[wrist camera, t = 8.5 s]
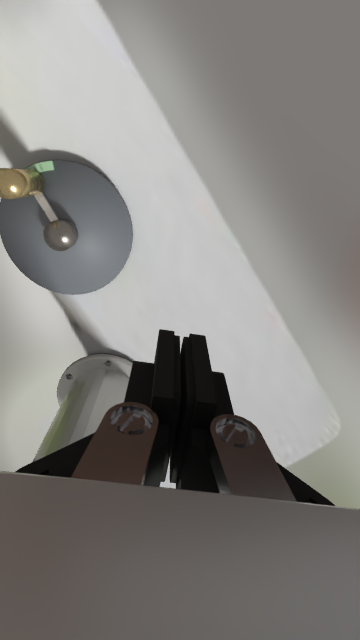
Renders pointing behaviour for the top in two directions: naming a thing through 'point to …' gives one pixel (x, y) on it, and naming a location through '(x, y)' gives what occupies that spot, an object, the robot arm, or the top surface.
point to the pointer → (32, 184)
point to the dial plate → (85, 213)
